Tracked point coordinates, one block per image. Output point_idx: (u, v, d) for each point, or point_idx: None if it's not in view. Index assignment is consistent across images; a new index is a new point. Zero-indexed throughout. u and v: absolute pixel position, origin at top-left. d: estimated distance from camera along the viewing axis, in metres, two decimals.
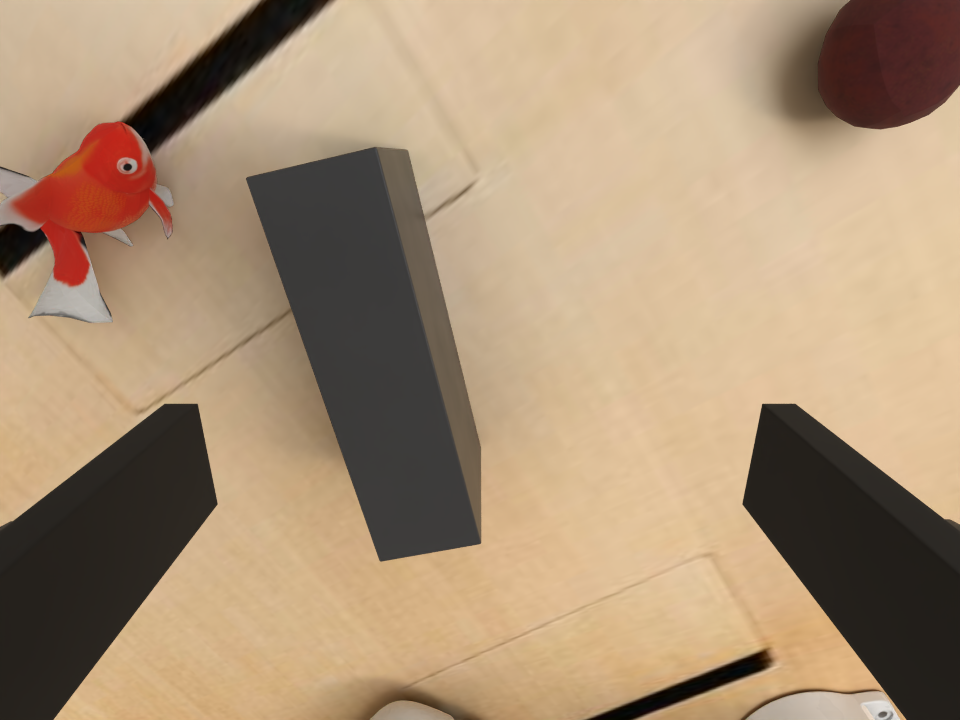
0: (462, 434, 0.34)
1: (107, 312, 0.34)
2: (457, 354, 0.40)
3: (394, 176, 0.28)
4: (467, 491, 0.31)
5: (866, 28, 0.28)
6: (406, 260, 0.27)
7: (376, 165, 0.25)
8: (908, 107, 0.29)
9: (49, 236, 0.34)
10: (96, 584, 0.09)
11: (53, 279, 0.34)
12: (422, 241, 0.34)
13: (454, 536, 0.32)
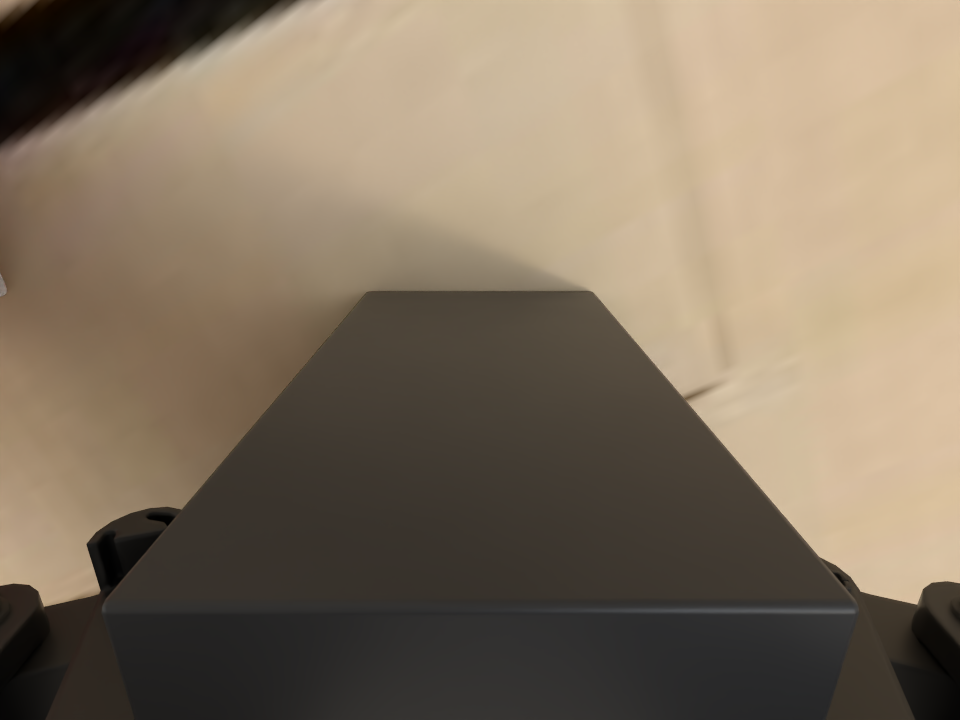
0: None
1: None
2: None
3: None
4: None
5: None
6: None
7: (819, 676, 0.05)
8: None
9: None
10: None
11: None
12: None
13: None
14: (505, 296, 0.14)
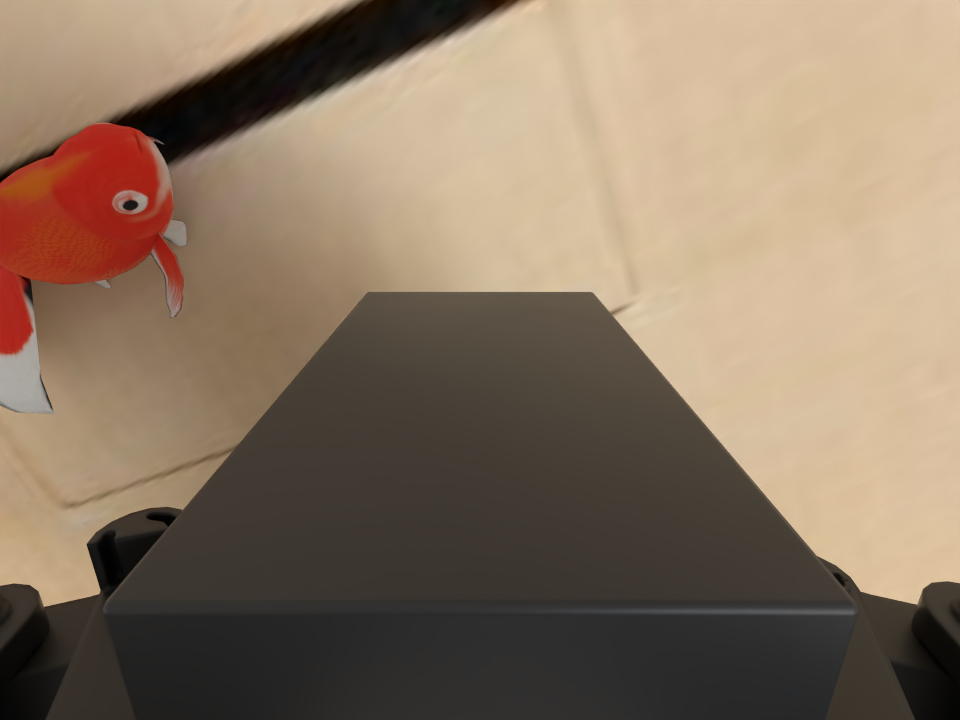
0: None
1: (47, 403, 0.21)
2: None
3: None
4: None
5: None
6: None
7: (818, 676, 0.05)
8: None
9: None
10: None
11: None
12: None
13: None
14: (505, 297, 0.15)
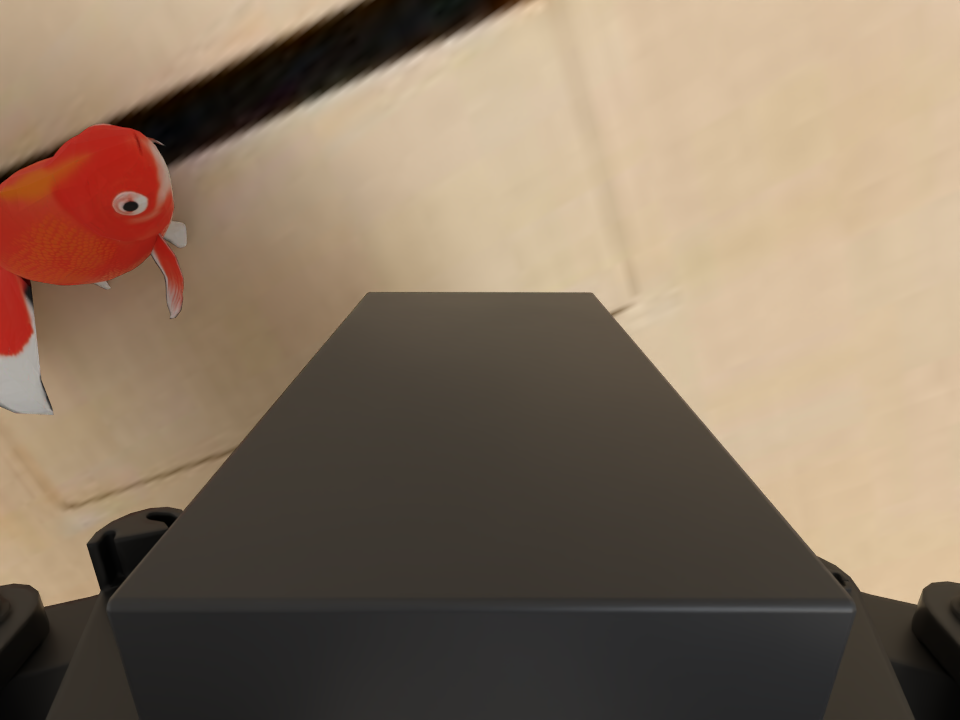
0: None
1: (47, 404, 0.21)
2: None
3: None
4: None
5: None
6: None
7: (817, 675, 0.05)
8: None
9: None
10: None
11: None
12: None
13: None
14: (505, 297, 0.15)
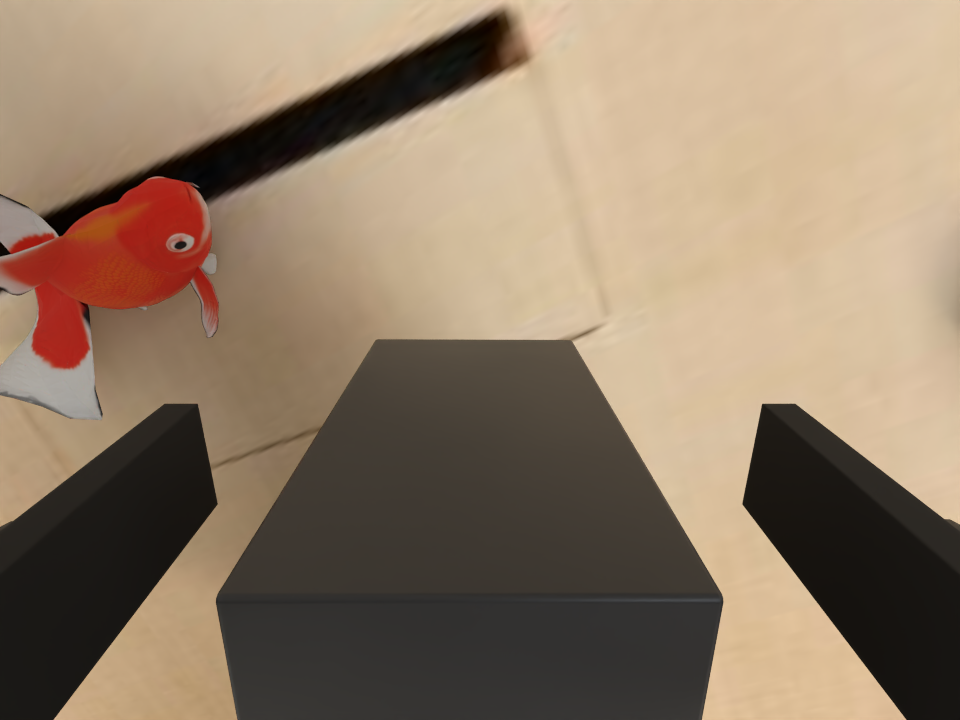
0: None
1: (98, 411, 0.24)
2: None
3: None
4: None
5: None
6: None
7: (700, 647, 0.07)
8: None
9: (38, 290, 0.25)
10: (96, 584, 0.09)
11: (30, 349, 0.25)
12: None
13: None
14: (495, 345, 0.17)
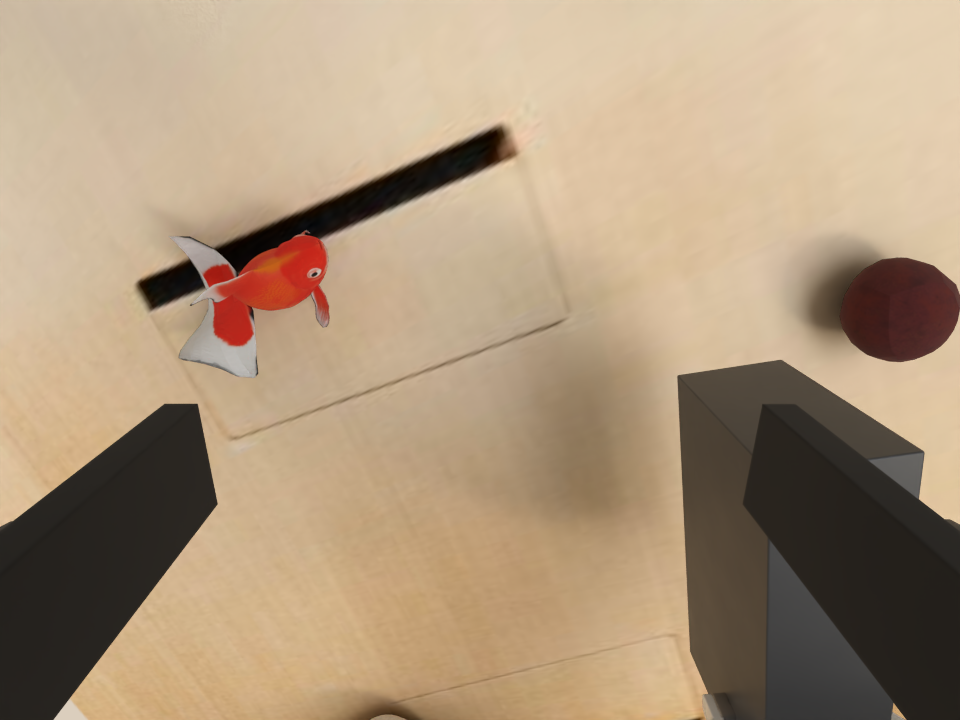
0: None
1: (255, 371, 0.40)
2: None
3: None
4: None
5: (884, 296, 0.38)
6: None
7: (918, 468, 0.23)
8: (901, 355, 0.39)
9: None
10: (96, 584, 0.09)
11: (213, 334, 0.41)
12: None
13: None
14: (745, 369, 0.33)
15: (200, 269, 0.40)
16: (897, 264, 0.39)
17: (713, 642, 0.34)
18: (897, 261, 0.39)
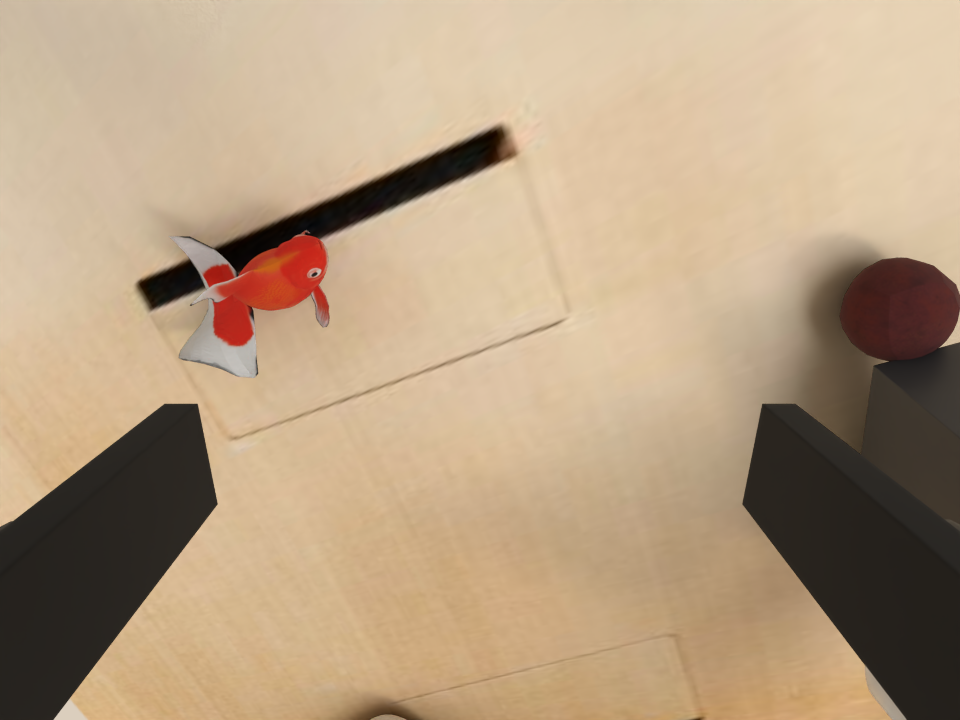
0: None
1: (255, 371, 0.40)
2: None
3: None
4: None
5: (884, 296, 0.38)
6: None
7: None
8: (901, 355, 0.39)
9: None
10: (96, 584, 0.09)
11: (213, 334, 0.41)
12: None
13: None
14: (934, 355, 0.39)
15: (200, 269, 0.40)
16: (897, 264, 0.39)
17: None
18: (897, 261, 0.39)
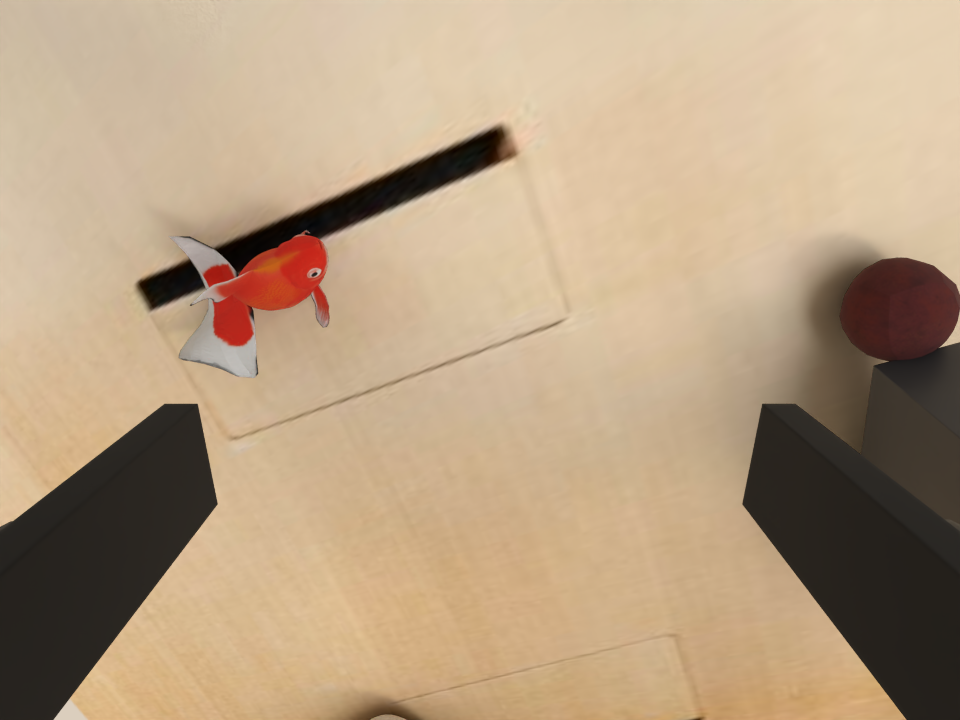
0: None
1: (255, 371, 0.40)
2: None
3: None
4: None
5: (884, 296, 0.38)
6: None
7: None
8: (901, 355, 0.39)
9: None
10: (96, 584, 0.09)
11: (213, 334, 0.41)
12: None
13: None
14: (934, 355, 0.39)
15: (200, 269, 0.40)
16: (897, 264, 0.39)
17: None
18: (897, 261, 0.39)
